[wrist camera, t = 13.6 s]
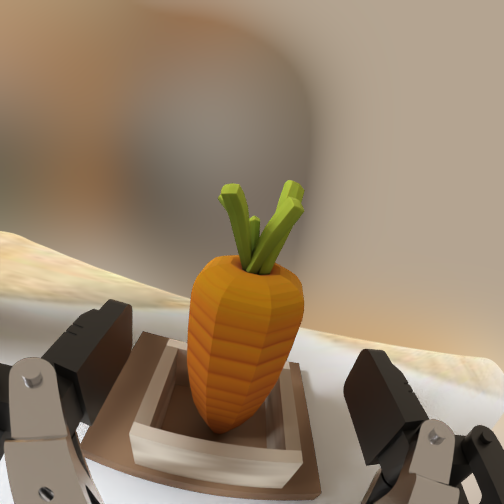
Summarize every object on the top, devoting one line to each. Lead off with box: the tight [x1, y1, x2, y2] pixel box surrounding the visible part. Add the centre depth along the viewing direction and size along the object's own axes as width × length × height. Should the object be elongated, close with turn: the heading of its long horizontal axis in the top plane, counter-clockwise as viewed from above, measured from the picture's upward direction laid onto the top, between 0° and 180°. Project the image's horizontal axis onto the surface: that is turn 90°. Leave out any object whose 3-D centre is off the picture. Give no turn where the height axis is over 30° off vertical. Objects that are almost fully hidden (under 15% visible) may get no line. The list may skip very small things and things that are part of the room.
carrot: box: [187, 180, 304, 434], centre depth 13 cm, size 5×5×15 cm
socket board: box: [80, 331, 321, 500], centre depth 17 cm, size 14×13×5 cm
